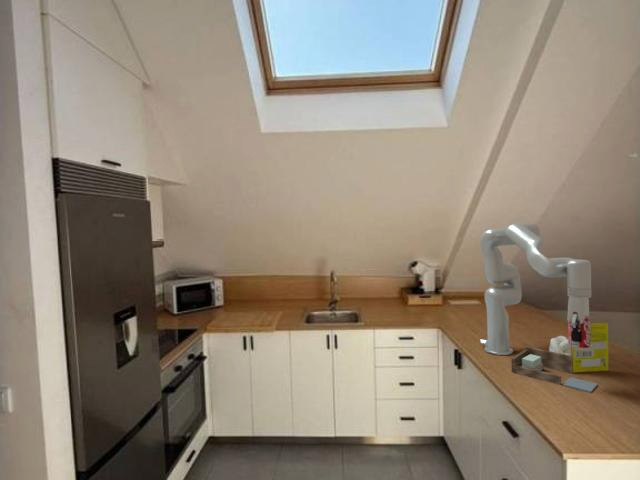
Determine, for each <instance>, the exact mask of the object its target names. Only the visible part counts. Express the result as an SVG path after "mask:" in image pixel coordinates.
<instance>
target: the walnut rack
mask: <svg viewBox="0 0 640 480" xmlns="http://www.w3.org/2000/svg"><path fill="white" fill-rule="evenodd" d="M524 348H525V349H523V350H522V351H520V352H519V353H517V354H516V355H514V356H512V357H511V373H514V374H518V375H522V376H526V377H530V378H534V379H537V380H541V381H546V382H548V381H549V383H552V382H553V384H556V383H557V385H562V376H561V375H558V374H554V373H549V372H545V371H542V370H541V371H538V370H534V369H529V368H525V367H521V366H522V358H524V357H526V356H528V355H530V354H532V355H536V356H540V357H541V363H543V368H547V369H550V370H555V371H560V372H564V373H569V374H573V373H574V372H573V356H571V355H566V354H561V353H556V352H551V351H549V350H544V349H539V348H537V347H536V348H535V347H530V346H525V347H524Z"/></svg>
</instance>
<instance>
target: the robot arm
mask: <svg viewBox="0 0 640 480" xmlns="http://www.w3.org/2000/svg"><path fill="white" fill-rule="evenodd" d="M540 229H541V228H539V226H538V225H536V224H535V223H533V222H518V223H517V222H516V223H513V224H510V225H508V227H500V228H499V227H498V228H497V227H496V228H490V229H487V230H485V231H483V233H482V234H481V236H480V238H479V239H480V241H479V242H480V243H479V244H480V250H481V252H482V255H483V265H484V273H485V278H486V281H487V282H488V283H489V284H492V285H493V284H494V285H497V284H504V285H498V286H491V287H489V288H487V289H486V290H485V292H484V296H483V297H484V302H485V306H486V307H485V308H486V320H487V321H486V323H487V324H486V325H487V326H486V327H487V330H486V331H487V339H483V338H480V340H479V342H480V345H485V346H484V351H485V352H486V353H488V354H492V355H497V356H509V355H512V354H513V353H514V350H513V348H512V347H510V327H509V326H510V323H509V322H510V319H509V313H508V311H507V309H506V306H513V305H517V304H520V302H521V300H522V298H523V297H522V295H523V293H522V292H523V291H522V284H521V275H520V272H519V269H518V267H517V266H516V265H514V264H513V263H509V262H506V263H504V258H503V254H502V252H501V250H500V248H499V247H500V246H501V247H502V246H503V247H504V246H517V247H518V248H520V249H521V250H522V251H523V252H524V253H525V254H526V259H527V263H528V265H530V267H531V268H532V269H533V270H534V271H536V273H538V274H539V275H540V276H543V277H545V278H551V279H552V278H563V277H566V292H567V293H566V294H567V297H568V301H567V317H566V318H567V320H566V321H567V323H568V322H571V325H572V326H571V327H572V328H571V337H572V341H577V342H582V331H581V324H583V323H584V320H585V317H588V318H589V319H590V303H589V302H590V301H589V299H590V298H592V265H591V264H592V263H591V261H590V260H587V259H577V258H576V259H575V258H572V257H565V256H564V257H552V258H551V257H550V258H549V257H548V256H547V257H546V255H544V254H543V253H541V251H543V249H544V247H545V240H544V239H543V238H541V237H540V236H541V230H540ZM571 320H572V321H571ZM576 321H580V322H579V323H577V322H576ZM576 324H578V325H579V328H578V325H576Z"/></svg>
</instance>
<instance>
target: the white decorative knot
mask: <svg viewBox="0 0 640 480" xmlns="http://www.w3.org/2000/svg"><path fill="white" fill-rule="evenodd" d="M549 342H550V344H549V347H548V351H551V352H556V353H561V354H566V355H571V356H572V346H570V345H569V342H568V337H566V336H564V335H558V336H556V337H552V338H551V339H550V341H549Z"/></svg>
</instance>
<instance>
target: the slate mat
mask: <svg viewBox="0 0 640 480" xmlns="http://www.w3.org/2000/svg"><path fill="white" fill-rule="evenodd" d="M562 386H563V387H566V388H571V389H575V390H579V391H582V392H586V393H590V394H591V393H592V392H593V391H594V390H595V389H596V388H597V387H598V383H596V382H591V381H588V380H583V379H579V378H575V377H572V376H570V377H569V378H567V380H565V381H564V382H563V384H562Z"/></svg>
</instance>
